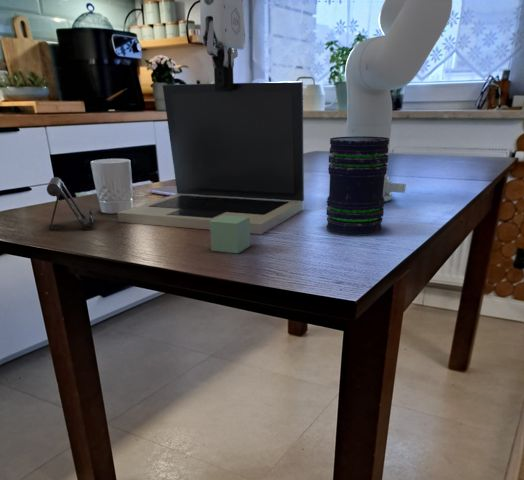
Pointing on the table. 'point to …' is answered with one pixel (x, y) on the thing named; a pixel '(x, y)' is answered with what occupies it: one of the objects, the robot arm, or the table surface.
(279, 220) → the laptop base
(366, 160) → the storage jar
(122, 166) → the white cup
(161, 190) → the mobile phone
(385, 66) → the robot arm
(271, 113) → the laptop screen
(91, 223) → the tablet stand
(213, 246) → the block
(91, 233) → the table surface
